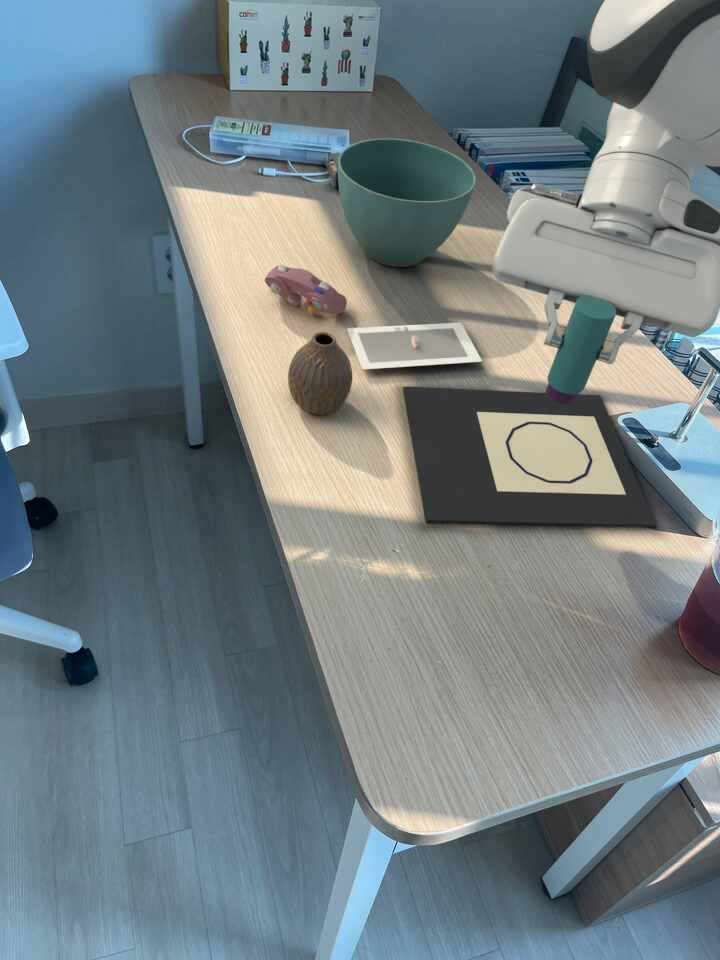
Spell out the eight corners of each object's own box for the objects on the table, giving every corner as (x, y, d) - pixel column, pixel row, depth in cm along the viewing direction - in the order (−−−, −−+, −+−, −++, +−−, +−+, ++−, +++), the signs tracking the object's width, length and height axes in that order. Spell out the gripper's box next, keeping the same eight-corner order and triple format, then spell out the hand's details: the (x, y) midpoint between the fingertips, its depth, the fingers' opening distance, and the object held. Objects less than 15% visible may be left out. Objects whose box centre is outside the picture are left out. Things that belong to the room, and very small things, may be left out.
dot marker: (573, 383, 75) (609, 296, 68) (583, 407, 72) (622, 320, 65) (538, 381, 74) (571, 294, 67) (547, 405, 72) (582, 318, 65)
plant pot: (304, 235, 108) (311, 150, 99) (402, 209, 117) (415, 128, 108) (383, 301, 99) (397, 214, 90) (481, 267, 108) (504, 185, 99)
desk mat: (599, 397, 91) (600, 394, 90) (654, 527, 77) (657, 524, 77) (402, 388, 87) (403, 385, 87) (425, 522, 74) (426, 519, 74)
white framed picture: (480, 368, 92) (484, 354, 90) (361, 376, 88) (363, 362, 86) (459, 329, 97) (462, 315, 95) (345, 335, 93) (347, 321, 91)
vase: (277, 412, 82) (280, 348, 76) (299, 375, 87) (304, 312, 80) (337, 431, 81) (345, 367, 75) (356, 392, 86) (365, 329, 80)
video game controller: (268, 306, 98) (255, 274, 91) (285, 278, 99) (274, 245, 92) (334, 334, 95) (326, 304, 89) (351, 305, 97) (344, 273, 90)
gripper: (519, 163, 67) (469, 312, 67) (754, 225, 64) (698, 381, 64) (516, 191, 73) (470, 327, 74) (729, 249, 70) (679, 391, 71)
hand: (578, 353), depth 69 cm, fingers closed on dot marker, 3 cm apart
